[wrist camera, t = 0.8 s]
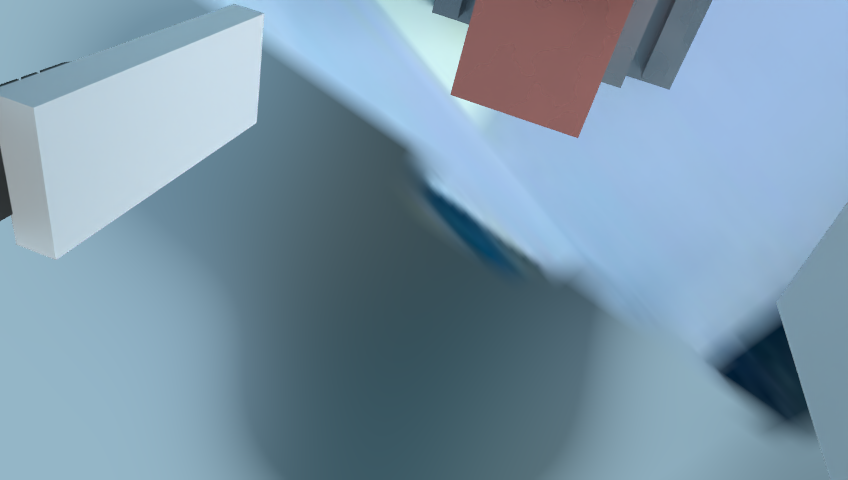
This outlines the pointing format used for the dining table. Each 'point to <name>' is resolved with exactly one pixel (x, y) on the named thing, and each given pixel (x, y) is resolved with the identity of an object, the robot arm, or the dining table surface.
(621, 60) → the block
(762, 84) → the dining table surface
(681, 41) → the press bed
